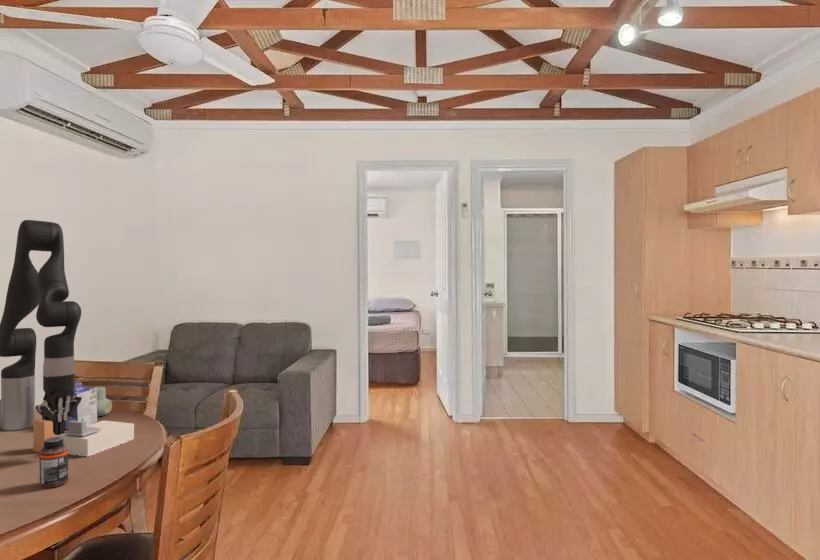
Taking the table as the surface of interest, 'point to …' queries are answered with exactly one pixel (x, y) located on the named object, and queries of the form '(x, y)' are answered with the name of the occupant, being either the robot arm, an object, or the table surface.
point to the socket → (99, 438)
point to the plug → (41, 433)
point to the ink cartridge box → (85, 405)
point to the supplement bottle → (53, 463)
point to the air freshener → (102, 402)
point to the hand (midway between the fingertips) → (59, 434)
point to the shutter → (80, 428)
